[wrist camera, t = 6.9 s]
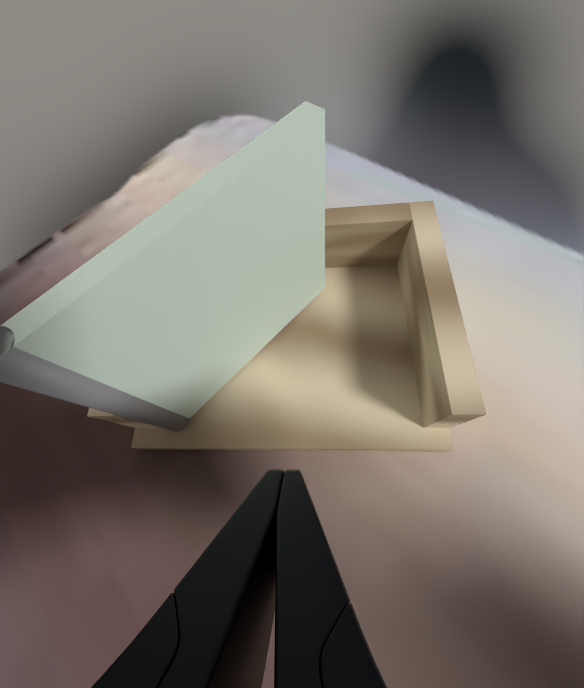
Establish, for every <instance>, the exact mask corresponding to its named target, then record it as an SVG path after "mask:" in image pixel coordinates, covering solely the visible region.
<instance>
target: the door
mask: <svg viewBox="0 0 584 688" xmlns="http://www.w3.org/2000/svg"><path fill="white" fill-rule="evenodd" d="M324 288H325V109H323V108H320V107H318V106H316V105H313V104H311V103H309V102H307V101H305V102H304V103H302V104H301V105H300V106H298V107H297V108H296V109H294V110H293V111H292V112H290V113H289V114H288V115H286V116H285V117H284V118H282V119H281V120H279V121H278V122H277V123H275V124H274V125H273V126H271V127H270V128H268V129H267V130H266V131H264V132H263V133H262V134H260V135H259V136H258V137H256V138H255V139H254V140H252V141H251V142H249V143H248V144H247V145H245V146H244V147H243V148H241V149H240V150H239V151H237V152H236V153H234V154H233V155H232V156H230V157H229V158H228V159H226V160H225V161H224V162H222V163H221V164H220V165H218V166H217V167H215V168H214V169H213V170H211V171H210V172H209V173H207V174H206V175H205V176H203V177H202V178H200V179H199V180H198V181H196V182H195V183H194V184H192V185H191V186H190V187H188V188H187V189H186V190H184V191H183V192H181V193H180V194H179V195H177V196H176V197H175V198H173V199H172V200H171V201H169V202H168V203H166V204H165V205H164V206H162V207H161V208H160V209H158V210H157V211H156V212H154V213H153V214H152V215H150V216H149V217H147V218H146V219H145V220H143V221H142V222H141V223H139V224H138V225H137V226H135V227H134V228H133V229H131V230H130V231H128V232H127V233H126V234H124V235H123V236H122V237H120V238H119V239H118V240H116V241H115V242H113V243H112V244H111V245H109V246H108V247H107V248H105V249H104V250H103V251H101V252H100V253H99V254H97V255H96V256H94V257H93V258H92V259H90V260H89V261H88V262H86V263H85V264H84V265H82V266H81V267H79V268H78V269H77V270H75V271H74V272H73V273H71V274H70V275H69V276H67V277H66V278H65V279H63V280H62V281H60V282H59V283H58V284H56V285H55V286H54V287H52V288H51V289H50V290H48V291H47V292H45V293H44V294H43V295H41V296H40V297H39V298H37V299H36V300H35V301H33V302H32V303H31V304H29V305H28V306H26V307H25V308H24V309H22V310H21V311H20V312H18V313H17V314H16V315H14V316H13V317H12V318H10V319H9V320H7V321H6V322H5V323H3V324H2V325H1V326H0V382H1V383H4V384H8V385H11V386H15V387H19V388H22V389H26V390H29V391H33V392H36V393H40V394H43V395H47V396H50V397H54V398H57V399H61V400H65V401H68V402H72V403H75V404H79V405H82V406H86V407H89V408H93V409H96V410H100V411H103V412H107V413H111V414H114V415H118V416H121V417H125V418H128V419H132V420H135V421H139V422H142V423H146V424H149V425H153V426H157V427H160V428H164V429H167V430H171V431H174V432H179V431H182V430H183V429H185V428H186V426H187V425H188V423H189V419H190V418H191V417H192V416H193V415H194V414H195V413H196V412H197V411H198V410H199V409H200V408H201V407H202V406H203V405H204V404H205V403H206V402H207V401H208V400H209V399H211V398H212V397H213V396H214V395H215V394H216V393H217V392H218V391H219V390H220V389H221V388H222V387H223V386H224V385H225V384H226V383H227V382H228V381H229V380H230V379H231V378H232V377H233V376H234V375H235V374H236V373H237V372H238V371H239V370H241V369H242V368H243V367H244V366H245V365H246V364H247V363H248V362H249V361H250V360H251V359H252V358H253V357H254V356H255V355H256V354H257V353H258V352H259V351H260V350H261V349H262V348H263V347H264V346H265V345H266V344H267V343H268V342H269V341H271V340H272V339H273V338H274V337H275V336H276V335H277V334H278V333H279V332H280V331H281V330H282V329H283V328H284V327H285V326H286V325H287V324H288V323H289V322H290V321H291V320H292V319H293V318H294V317H295V316H296V315H297V314H298V313H299V312H301V311H302V310H303V309H304V308H305V307H306V306H307V305H308V304H309V303H310V302H311V301H312V300H313V299H314V298H315V297H316V296H317V295H318V294H319V293H320V292H321V291H322V290H323V289H324Z"/></svg>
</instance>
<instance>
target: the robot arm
mask: <svg viewBox="0 0 584 688" xmlns="http://www.w3.org/2000/svg"><path fill="white" fill-rule="evenodd" d="M274 612H275V667H274V688H387V686H386V684H385V682H384V680H383V678H382V676H381V674H380V671H379V669H378V667H377V665H376V663H375V661H374V658H373V656H372V653H371V651H370V649H369V646H368V644H367V641H366V639H365V637H364V634H363V632H362V629H361V627H360V624H359V622H358V619H357V617H356V614H355V611H354V609H353V606H352V604H351V603H350V599H349V596H348V594H347V591H346V588H345V586H344V583H343V581H342V578H341V575H340V573H339V570H338V568H337V565H336V562H335V560H334V557H333V554H332V552H331V549H330V547H329V544H328V541H327V539H326V536H325V534H324V531H323V528H322V526H321V523H320V520H319V518H318V515H317V513H316V510H315V507H314V505H313V502H312V500H311V497H310V494H309V492H308V489H307V487H306V484H305V481H304V479H303V476H302V473H301V471H300V470H285V472H284V471H283V470H281V469H270V470H268V471H267V472H266V474H265V475H264V476H263V477H262V479H261V480H260V481H259V482H258V484H257V485H256V486H255V488H254V489H253V490H252V491H251V493H250V494H249V495H248V496H247V498H246V499H245V500H244V501H243V503H242V504H241V505H240V507H239V508H238V509H237V510H236V512H235V513H234V514H233V515H232V517H231V518H230V519H229V521H228V522H227V523H226V524H225V526H224V527H223V528H222V529H221V531H220V532H219V533H218V535H217V536H216V537H215V538H214V540H213V541H212V542H211V543H210V545H209V546H208V547H207V549H206V550H205V551H204V552H203V554H202V555H201V556H200V557H199V559H198V560H197V561H196V563H195V564H194V565H193V566H192V568H191V569H190V570H189V571H188V573H187V574H186V575H185V577H184V578H183V579H182V580H181V582H180V583H179V584H178V585H177V587H176V588H175V590H174V593H171V594H170V595H169V597H168V598H167V599H166V600H165V602H164V603H163V604H162V606H161V607H160V608H159V609H158V611H157V612H156V613H155V614H154V616H153V617H152V618H151V619H150V620H149V622H148V623H147V624H146V625H145V627H144V628H143V629H142V630H141V631H140V633H139V634H138V635H137V636H136V638H135V639H134V640H133V641H132V642H131V644H130V645H129V646H128V647H127V648H126V649H125V650H124V651H123V653H122V654H121V655H120V656H119V657H118V658H117V659H116V660H115V662H114V663H113V664H112V665H111V666H110V667H109V668H108V669H107V671H106V672H105V673H104V674H103V675H102V676H101V677H100V678H99V680H98V681H97V682H96V683H95V684H94V685H93V686H92V687H91V688H261V687H262V682H263V676H264V670H265V664H266V658H267V653H268V647H269V641H270V635H271V629H272V623H273V618H274Z"/></svg>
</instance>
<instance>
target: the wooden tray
mask: <svg viewBox="0 0 584 688" xmlns="http://www.w3.org/2000/svg"><path fill="white" fill-rule="evenodd" d="M483 415H486V412H485V408H484V404H483V400H482V396H481V392H480V388H479V384H478V380H477V376H476V371H475V367H474V363H473V359H472V355H471V351H470V347H469V343H468V339H467V335H466V331H465V327H464V323H463V319H462V315H461V311H460V307H459V303H458V299H457V295H456V291H455V287H454V283H453V279H452V275H451V271H450V267H449V263H448V259H447V255H446V251H445V247H444V243H443V239H442V235H441V231H440V227H439V223H438V219H437V215H436V211H435V207H434V203H433V201H425V202H412V203H398V204H385V205H371V206H357V207H344V208H330V209H325V288H324V289H323V290H322V291H321V292H320V293H319V294H318V295H317V296H316V297H315V298H314V299H313V300H312V301H311V302H310V303H309V304H308V305H307V306H306V307H305V308H304V309H303V310H302V311H301V312H299V313H298V314H297V315H296V316H295V317H294V318H293V319H292V320H291V321H290V322H289V323H288V324H287V325H286V326H285V327H284V328H283V329H282V330H281V331H280V332H279V333H278V334H277V335H276V336H275V337H274V338H273V339H272V340H271V341H269V342H268V343H267V344H266V345H265V346H264V347H263V348H262V349H261V350H260V351H259V352H258V353H257V354H256V355H255V356H254V357H253V358H252V359H251V360H250V361H249V362H248V363H247V364H246V365H245V366H244V367H243V368H242V369H241V370H239V371H238V372H237V373H236V374H235V375H234V376H233V377H232V378H231V379H230V380H229V381H228V382H227V383H226V384H225V385H224V386H223V387H222V388H221V389H220V390H219V391H218V392H217V393H216V394H215V395H214V396H213V397H212V398H211V399H209V400H208V401H207V402H206V403H205V404H204V405H203V406H202V407H201V408H200V409H199V410H198V411H197V412H196V413H195V414H194V415H193V416H192V417H191V418H190V419H189V423H188V425H187V426H186V428H185V429H183V430H182V431H179V432H174V431H171V430H167V429H164V428H160V427H157V426H153V425H149V424H146V423H142V422H139V421H135V420H132V419H128V418H125V417H121V416H118V415H114V414H111V413H107V412H103V411H100V410H96V409H93V408H89V410H88V414H87V416H88V417H92V418H96V419H100V420H104V421H108V422H112V423H117V424H121V425H125V426H129V427H133V428H135V431H134V435H133V440H132V444H131V448H136V449H166V450H305V451H445V452H446V451H452V450H454V447H453V442H452V436H451V431H450V428H451V427H454V426H456V425H459V424H462V423H464V422H467V421H470V420H472V419H475V418H478V417H480V416H483Z"/></svg>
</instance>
